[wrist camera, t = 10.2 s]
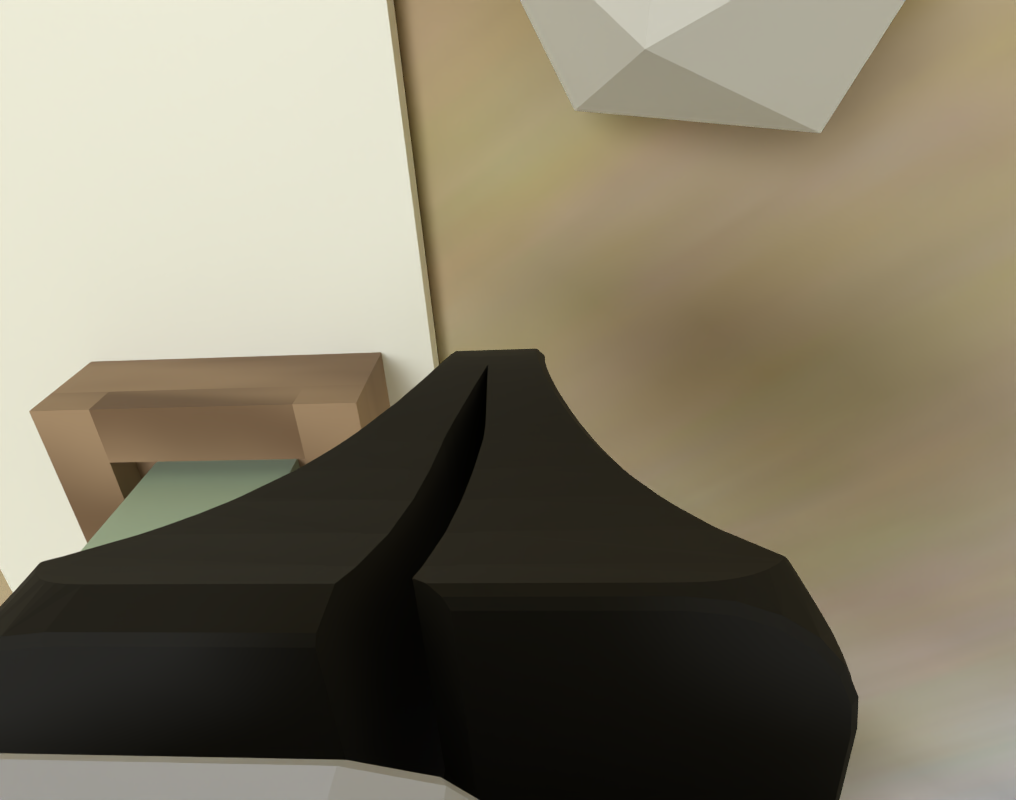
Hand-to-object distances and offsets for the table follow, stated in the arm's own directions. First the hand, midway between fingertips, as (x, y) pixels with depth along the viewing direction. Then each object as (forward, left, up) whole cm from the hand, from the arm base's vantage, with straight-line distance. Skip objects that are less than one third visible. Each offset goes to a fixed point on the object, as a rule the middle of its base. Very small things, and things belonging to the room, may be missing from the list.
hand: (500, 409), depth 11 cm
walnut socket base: (-8, +9, -10) cm, 15 cm away
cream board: (-3, +12, -10) cm, 16 cm away
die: (+7, -4, -11) cm, 13 cm away
